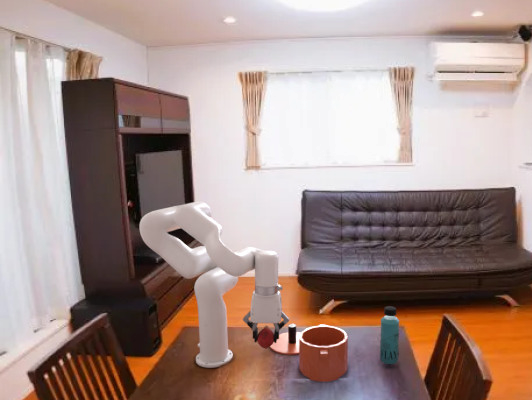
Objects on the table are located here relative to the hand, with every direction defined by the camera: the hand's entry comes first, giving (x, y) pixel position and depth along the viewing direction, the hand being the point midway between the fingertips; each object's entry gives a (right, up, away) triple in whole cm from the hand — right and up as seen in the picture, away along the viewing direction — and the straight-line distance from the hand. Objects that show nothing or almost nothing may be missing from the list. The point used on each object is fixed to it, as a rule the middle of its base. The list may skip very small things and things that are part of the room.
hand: (265, 340), depth 142 cm
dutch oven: (+19, -10, +1) cm, 22 cm away
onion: (0, -3, 0) cm, 3 cm away
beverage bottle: (+42, -10, +4) cm, 43 cm away
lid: (+8, -7, +18) cm, 21 cm away
